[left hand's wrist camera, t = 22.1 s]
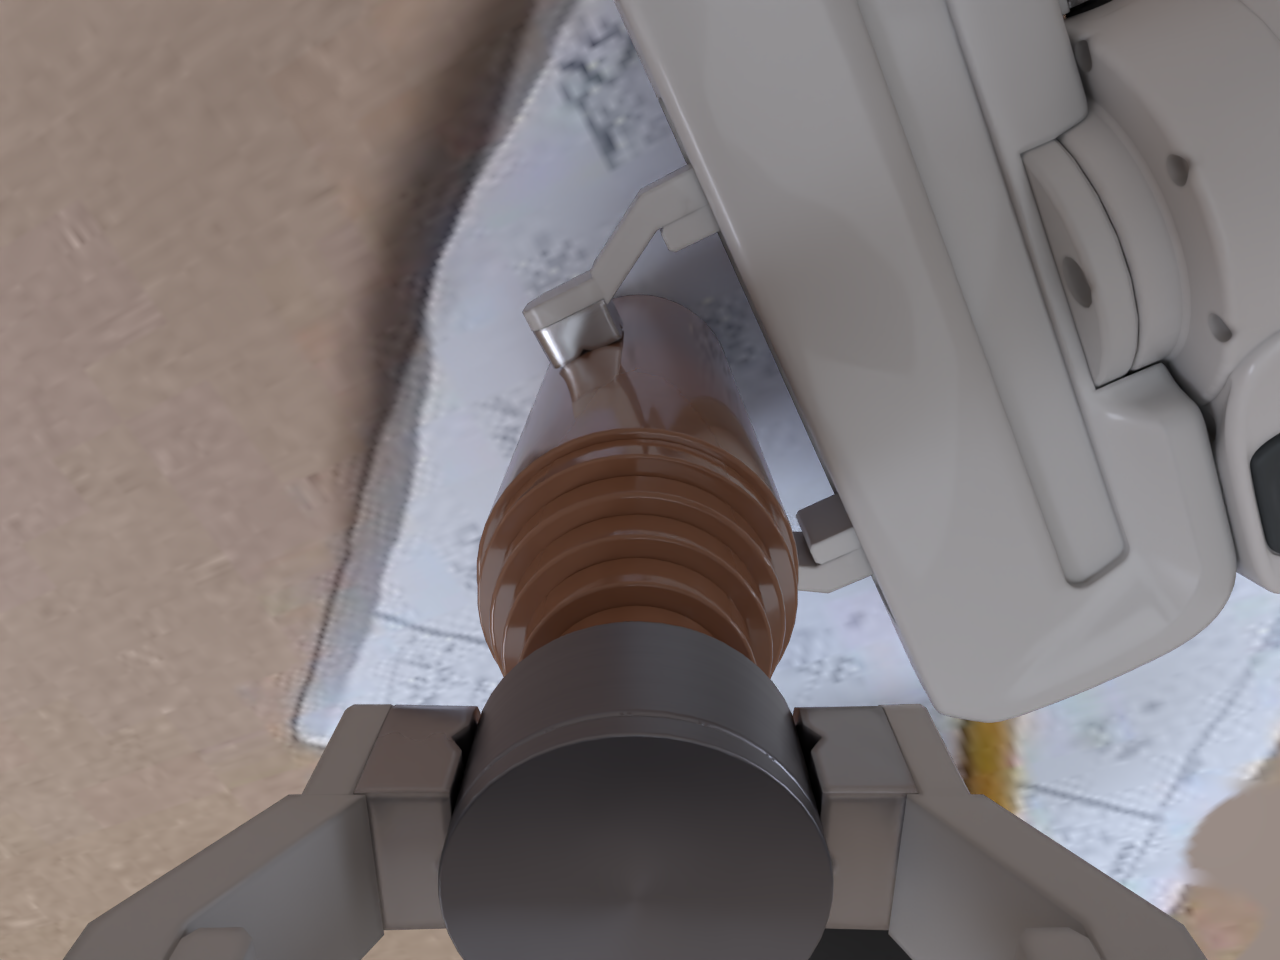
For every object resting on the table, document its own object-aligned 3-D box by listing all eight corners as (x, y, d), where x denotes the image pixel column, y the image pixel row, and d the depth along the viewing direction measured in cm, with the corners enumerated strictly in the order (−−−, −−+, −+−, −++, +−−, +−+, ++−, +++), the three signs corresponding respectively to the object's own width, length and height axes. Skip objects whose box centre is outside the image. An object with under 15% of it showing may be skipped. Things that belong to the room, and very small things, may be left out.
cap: (763, 901, 11) (788, 1056, 9) (461, 867, 11) (424, 1018, 9) (831, 642, 10) (877, 761, 8) (489, 597, 10) (452, 709, 8)
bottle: (657, 255, 25) (690, 517, 8) (764, 401, 27) (991, 887, 9) (511, 368, 26) (266, 810, 9) (622, 501, 28) (593, 1098, 11)
